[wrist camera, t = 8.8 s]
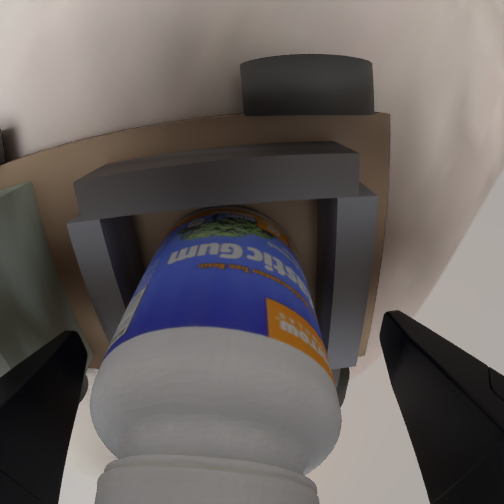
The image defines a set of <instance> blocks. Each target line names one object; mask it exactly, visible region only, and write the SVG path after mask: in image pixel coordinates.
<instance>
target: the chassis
mask: <svg viewBox="0 0 504 504" xmlns="http://www.w3.org/2000/svg"><path fill="white" fill-rule="evenodd" d="M240 71H241V84H242V96H243V108H244V114H232V115H222V116H212V117H204V118H195V119H188V120H181V121H174V122H167V123H161V124H155V125H149V126H143V127H138V128H133V129H128V130H123V131H118V132H113V133H108V134H104V135H100V136H95V137H91V138H87V139H83V140H79V141H75V142H71V143H67V144H64V145H60V146H57V147H53V148H50V149H46V150H43V151H40V152H36V153H33V154H30V155H27V156H24V157H21V158H18V159H15V160H12V161H9V162H6V159H5V154H4V148H3V142H2V135H1V129H0V377H1V376H3V375H4V374H5V373H7V372H8V371H9V370H11V369H12V368H13V367H15V366H16V365H18V364H19V363H20V362H22V361H23V360H24V359H26V358H27V357H28V356H30V355H31V354H33V353H34V352H35V351H37V350H38V349H40V348H41V347H42V346H44V345H45V344H46V343H48V342H49V341H51V340H52V339H54V338H55V337H56V336H58V335H59V334H61V333H62V332H63V331H66V330H74V331H77V332H78V333H79V335H80V337H81V339H82V341H83V343H84V345H85V347H86V349H87V353H88V359H87V364H86V369H85V373H86V371H87V369H88V368H96V369H100V366H101V364H102V361H103V359H104V357H105V354H106V352H107V350H108V348H109V346H110V343H111V341H112V339H113V337H114V334H115V332H116V330H117V328H118V326H119V324H120V321H121V319H122V317H123V315H124V313H125V311H126V309H127V307H128V305H129V303H130V301H131V299H132V297H133V295H134V293H135V291H136V289H137V287H138V285H139V283H140V281H141V279H142V277H143V275H144V273H145V271H146V269H147V267H148V265H149V264H150V262H151V260H152V258H153V256H154V254H155V252H156V250H157V249H158V247H159V245H160V243H161V242H162V240H163V239H164V238H165V236H166V235H167V234H168V233H169V231H170V230H171V229H172V228H173V227H174V226H175V225H176V224H177V223H178V222H180V221H181V220H182V219H184V218H185V217H187V216H189V215H191V214H193V213H195V212H197V211H200V210H204V209H207V208H212V207H218V206H235V207H241V208H246V209H249V210H253V211H255V212H258V213H260V214H262V215H264V216H266V217H267V218H269V219H271V220H272V221H274V222H275V223H276V224H277V225H278V226H279V227H280V228H282V229H283V230H284V231H285V233H286V234H287V235H288V236H289V238H290V239H291V241H292V243H293V244H294V246H295V248H296V251H297V253H298V255H299V258H300V261H301V264H302V268H303V271H304V275H305V278H306V282H307V285H308V289H309V292H310V296H311V299H312V303H313V306H314V310H315V313H316V317H317V320H318V324H319V328H320V331H321V335H322V339H323V343H324V346H325V349H326V353H327V356H328V360H329V364H330V366H331V370H332V374H333V378H334V382H335V386H336V390H337V395H338V400H339V405H340V407H341V405H342V404H343V401H344V398H345V394H346V389H347V385H348V380H349V374H350V373H349V367H353V366H356V362H357V357H358V356H364V355H365V353H366V348H367V343H368V338H369V333H370V328H371V323H372V318H373V312H374V307H375V301H376V295H377V288H378V282H379V275H380V268H381V260H382V252H383V244H384V234H385V224H386V213H387V200H388V185H389V164H390V114H386V113H379V112H374V89H373V70H372V63H371V62H370V61H367V60H364V59H360V58H355V57H349V56H340V55H326V54H296V55H281V56H272V57H265V58H260V59H255V60H251V61H247V62H244V63H242V64H241V65H240ZM87 389H88V379H87V376H86V374H84V380H83V386H82V392H81V397H80V401H79V403H80V402H81V401H82V399H83V398H84V396H85V394H86V392H87Z"/></svg>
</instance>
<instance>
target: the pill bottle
mask: <svg viewBox="0 0 504 504" xmlns="http://www.w3.org/2000/svg"><path fill="white" fill-rule="evenodd" d="M90 411H91V417H92V421H93V424H94V427H95V429H96V431H97V433H98V435H99V437H100V439H101V440H102V441H103V443H104V444H105V445H106V447H107V448H108V449H109V450H110V451H111V452H112V453H113V454H114V455H115V456H116V457H117V458H118V460H115V461H113V462H111V463H109V464H108V465H107V466H106V468H105V469H104V473H103V474H101V475H100V477H99V478H98V482H97V492H96V498H95V504H319V498H318V496H317V487H316V485H315V483H314V482H313V481H312V480H311V479H309V478H308V477H306V476H304V475H306V474H308V473H309V472H311V471H312V470H313V469H315V468H316V467H317V466H319V465H320V464H321V463H322V462H323V461H324V460H325V459H326V458H327V456H328V455H329V454H330V453H331V451H332V450H333V448H334V446H335V444H336V442H337V440H338V437H339V434H340V429H341V421H342V420H341V409H340V405H339V400H338V395H337V390H336V386H335V382H334V378H333V374H332V370H331V366H330V364H329V360H328V356H327V353H326V349H325V346H324V343H323V339H322V335H321V331H320V328H319V324H318V320H317V317H316V313H315V310H314V306H313V303H312V299H311V296H310V292H309V289H308V285H307V282H306V278H305V275H304V271H303V268H302V264H301V261H300V258H299V255H298V253H297V251H296V248H295V246H294V244H293V243H292V241H291V239H290V238H289V236H288V235H287V234H286V233H285V231H284V230H283V229H282V228H280V227H279V226H278V225H277V224H276V223H275V222H274V221H272V220H271V219H269V218H267V217H266V216H264V215H262V214H260V213H258V212H255V211H253V210H249V209H246V208H241V207H235V206H218V207H212V208H207V209H204V210H200V211H197V212H195V213H193V214H191V215H189V216H187V217H185V218H184V219H182V220H181V221H180V222H178V223H177V224H176V225H175V226H174V227H173V228H172V229H171V230H170V231H169V233H168V234H167V235H166V236H165V238H164V239H163V240H162V242H161V243H160V245H159V247H158V249H157V250H156V252H155V254H154V256H153V258H152V260H151V262H150V264H149V265H148V267H147V269H146V271H145V273H144V275H143V277H142V279H141V281H140V283H139V285H138V287H137V289H136V291H135V293H134V295H133V297H132V299H131V301H130V303H129V305H128V307H127V309H126V311H125V313H124V315H123V317H122V319H121V321H120V324H119V326H118V328H117V330H116V332H115V334H114V337H113V339H112V341H111V343H110V346H109V348H108V350H107V352H106V354H105V357H104V359H103V361H102V364H101V366H100V369H99V371H98V374H97V376H96V379H95V381H94V385H93V388H92V392H91V397H90Z"/></svg>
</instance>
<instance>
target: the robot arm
mask: <svg viewBox="0 0 504 504" xmlns="http://www.w3.org/2000/svg"><path fill="white" fill-rule="evenodd" d="M380 343H381V347H382V350H383V354H384V358H385V362H386V365H387V369H388V373H389V377H390V381H391V385H392V387H393V391H394V393H395V396H396V399H397V401H398V404H399V407H400V410H401V413H402V416H403V418H404V421H405V424H406V427H407V430H408V433H409V436H410V439H411V442H412V445H413V448H414V451H415V454H416V457H417V460H418V463H419V467H420V470H421V473H422V477H423V480H424V483H425V487H426V490H427V494H428V498H429V501H430V504H504V376H503V375H501V374H499V373H498V372H497V371H495V370H493V369H492V368H490V367H489V368H488V366H487V365H486V364H484V363H483V362H481V361H479V360H478V359H476V358H475V357H473V356H472V355H470V354H468V353H467V352H465V351H464V350H462V349H461V348H459V347H457V346H456V345H454V344H453V343H451V342H449V341H448V340H446V339H445V338H443V337H441V336H440V335H438V334H437V333H435V332H433V331H432V330H430V329H429V328H427V327H425V326H424V325H422V324H420V323H419V322H417V321H416V320H414V319H412V318H411V317H409V316H407V315H406V314H404V313H402V312H401V311H399V310H395V311H388V312H386V313H385V314H384V317H383V321H382V326H381V331H380ZM87 359H88V353H87V349H86V347H85V345H84V343H83V341H82V339H81V337H80V335H79V333H78V332H77V331H74V330H66V331H63V332H62V333H61V334H59V335H58V336H56V337H55V338H54V339H52V340H51V341H49V342H48V343H46V344H45V345H44V346H42V347H41V348H40V349H38V350H37V351H35V352H34V353H33V354H31V355H30V356H28V357H27V358H26V359H24V360H23V361H22V362H20V363H19V364H18V365H16V366H15V367H13V368H12V369H11V370H9V371H8V372H7V373H5V374H4V375H3V376H1V377H0V504H58V501H59V494H60V488H61V482H62V477H63V471H64V466H65V461H66V456H67V451H68V447H69V442H70V438H71V433H72V429H73V425H74V421H75V417H76V413H77V409H78V405H79V401H80V397H81V392H82V386H83V380H84V374H85V369H86V364H87Z"/></svg>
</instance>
